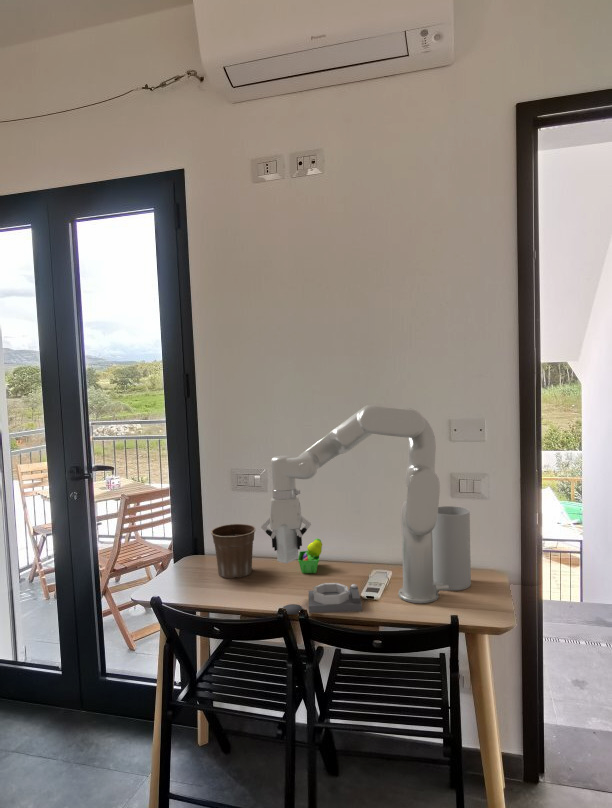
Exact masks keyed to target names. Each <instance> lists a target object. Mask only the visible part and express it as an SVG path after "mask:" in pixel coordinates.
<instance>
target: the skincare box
mask: <svg viewBox="0 0 612 808" xmlns="http://www.w3.org/2000/svg"><path fill="white" fill-rule="evenodd" d="M297 536H298V534H297V532H296V531H295V530H290V529H289V528H288V525H283V526H279V530H277V532H276V545H277V550H276V556H277V557H276V558H277V562H279V563H282V564H289V563H291V562H293V561H295V560H298V558H299V550H298V545H297Z"/></svg>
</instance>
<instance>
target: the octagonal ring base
mask: <svg viewBox="0 0 612 808" xmlns="http://www.w3.org/2000/svg"><path fill="white" fill-rule="evenodd" d="M312 589H313V590H308V613H337V612H338V613H340V612H363V604H362V599H361V596H360V592H359V587H358V585H357V584H355V583H353V584H351V585H349V587H348V586H347V585H345V584H342V583H338V582H324V583H323V582H322V583H321V584H319V585H316V586H314V587H312Z"/></svg>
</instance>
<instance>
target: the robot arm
mask: <svg viewBox="0 0 612 808" xmlns="http://www.w3.org/2000/svg"><path fill="white" fill-rule="evenodd" d="M371 435H380V436H388V437H397V438H406V439H407V445H408V446H407V447H408V448H407V461H406V472H405V477H404V480H405V481H404V482H405V485H406V487H407V489H406V490H407V493H406V499H405V500H404V501H403V503H402V505H401V507H400V526H401V551H402V552H401V554H402V555H401V556H402V560H401V561H402V587H401V588H399V590H398V594H397V595H398V597H399V599H401V600H403V601H405V602H409V603H412V604H413V603H414V604H429V603H433V602H435V601H437V600H438V599H439V595H440V594H439V592H449V591H450V590H449V586H448V585H443V583H435V582H434V581H433V539H432V530H433V529H434V527H435V525H436V522H437V515H438V507H440V506H439V505H440V504H439V503H440V493H441V485H440V480H439V477H438V475H437V473H436V470H435V469H436V468H435V466H436V449H437V448H436V447H437V446H436V445H437V443H436V441H437V440H436V436H435V432H434V429H433V428H432V426H431V424H430V423H429V421H428V420H427V419H426V418H425V417H424V416H423V415H422V414H421V413H420V412H419V411H417V410H415V409H413V408H410V407H409V408H408V407H404V408H395V407H385V406H379V405H376V404H367V405H365V406H363V407H362V408H360V409H359V410H358V411H356V412H355V413H353V414H352V415H351V416H350V417H348V418H347V419H345V420H344V421H343V422H341V423H340V424H339V425H337V426H336V427H335V428H333V429H332V430H331V431H329V432H328V433H327V434H326V435H325V436H324V437H323V438H321V439H319V440H318V441H316V442H315V443H314V444H312V445H311V446H310V447H309V448H307V449H306V450H304V451H303V452H302V453H300V454H299V455H298V456H297V457H293V456H292V455H275V456H273V457H272V458H271V460H270V470H271V471H270V472H271V473H270V474H271V488H272V491H271V492H272V497H271V498H270V503H269V517H268V519H267V520H266V521H265V522H263V524H261V527H260V528H261V529H262V530H263V532H265V534H267V536H268V537H270V539H271V545H272V546H271V547H272V548H274V551H275V552H277V545H276V532H277V530H279V526H283V525H288V528H289V529H290V530H295V531H296V532H297V545H298V551H299V550H300V551H301V547H302V546H303V542H302V541H303V538H302V537H303V535H304V534H305V533H306V532H307V530H308V529H309V528H310V527H311V526H312V525H311V522H310V521H309V520H307V519H306V518H305V517H304V516H302V510H301V509H302V508H301V502H300V498H299V497H298V496H297V495H300V494H301V489H297V488H296V479H297V480H310V479H312V478H314V476H316V474H317V471H318V470H319V469H320V468H322V467H323V466H324V465H326V464H327V463H328V462H329V461H331V460H333V459H334V458H337V456H339V455H343V454H346V453H348V452H350V451H351V450H353V449H354V448H356V447H357V446H358V445H359V444H361V443H362V442H364V441H365V440H366V439H367V438H369V437H370V436H371ZM302 524H304V526H303V527H302ZM268 526H270V529H269V528H268ZM301 527H302V528H301Z"/></svg>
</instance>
